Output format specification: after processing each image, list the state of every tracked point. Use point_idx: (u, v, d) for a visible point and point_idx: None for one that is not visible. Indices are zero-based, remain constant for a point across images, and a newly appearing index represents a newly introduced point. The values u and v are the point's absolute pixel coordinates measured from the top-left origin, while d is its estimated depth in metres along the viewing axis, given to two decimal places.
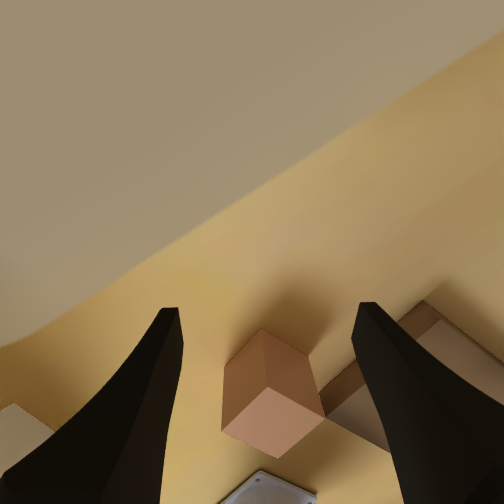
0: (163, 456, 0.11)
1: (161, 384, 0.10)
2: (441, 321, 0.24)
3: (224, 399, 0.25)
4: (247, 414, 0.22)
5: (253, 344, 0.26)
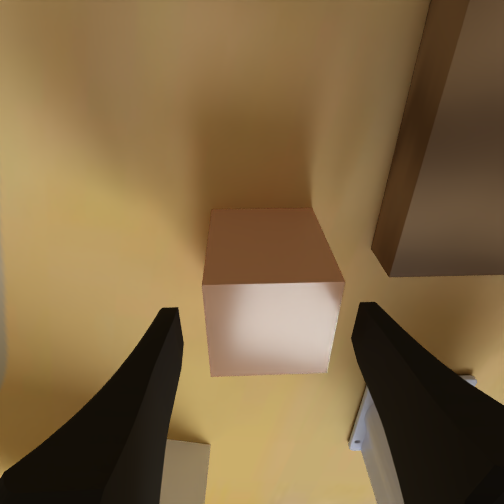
0: (163, 456, 0.11)
1: (161, 384, 0.10)
2: None
3: None
4: (219, 338, 0.13)
5: None
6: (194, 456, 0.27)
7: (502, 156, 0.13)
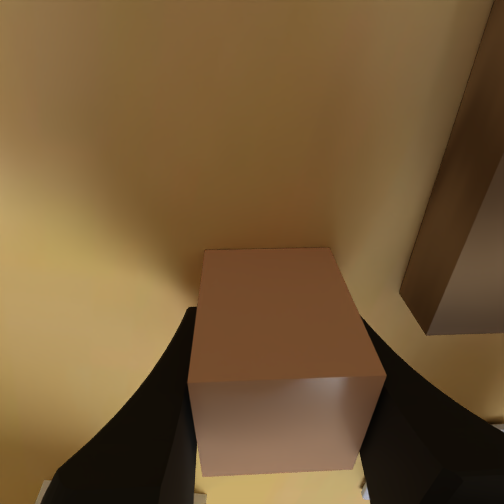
0: (195, 455, 0.11)
1: None
2: None
3: None
4: (212, 438, 0.10)
5: None
6: None
7: None
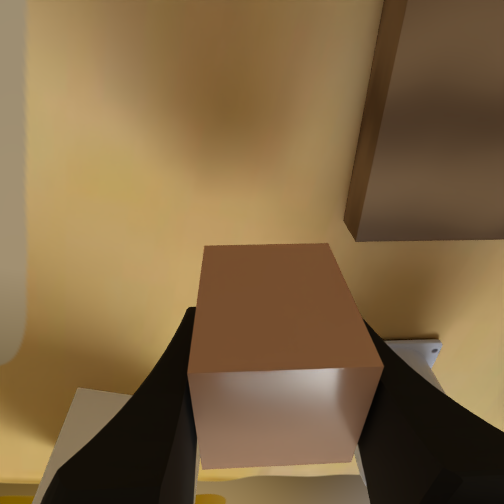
0: (195, 455, 0.11)
1: None
2: None
3: None
4: (212, 430, 0.10)
5: None
6: None
7: (442, 137, 0.16)
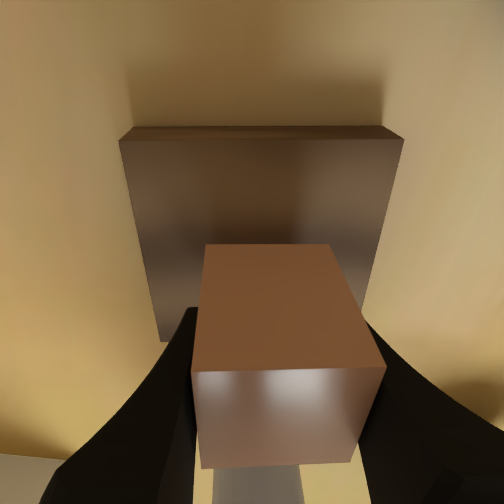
0: (194, 455, 0.11)
1: None
2: (124, 143, 0.14)
3: None
4: (213, 430, 0.10)
5: None
6: None
7: None
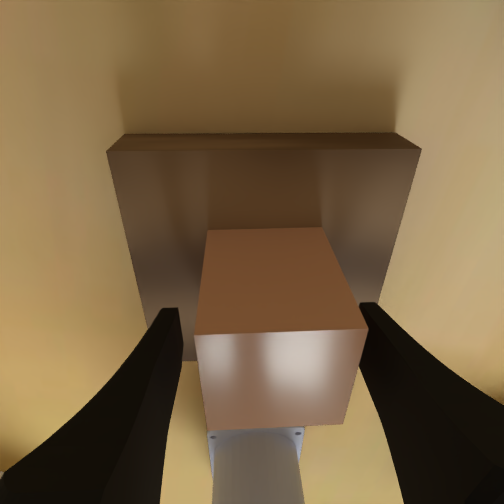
0: (163, 456, 0.11)
1: (161, 384, 0.10)
2: (113, 153, 0.12)
3: None
4: (215, 391, 0.11)
5: None
6: None
7: None
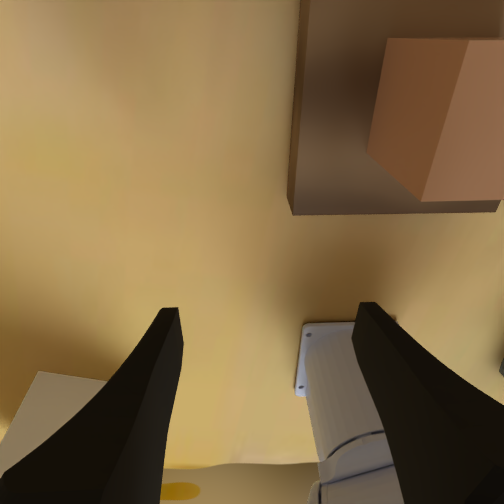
0: (163, 456, 0.11)
1: (161, 384, 0.10)
2: None
3: (395, 171, 0.14)
4: (453, 136, 0.11)
5: (390, 69, 0.14)
6: None
7: (366, 106, 0.16)
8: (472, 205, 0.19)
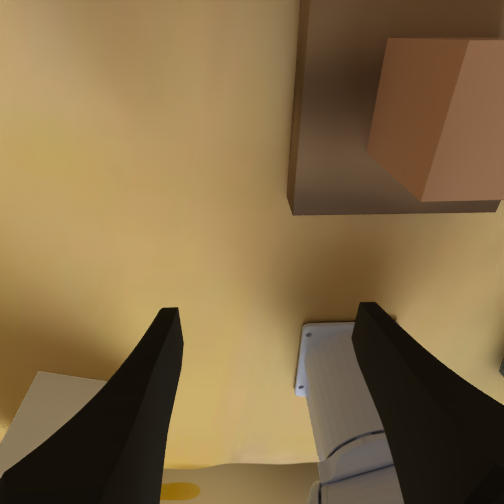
0: (163, 456, 0.11)
1: (161, 384, 0.10)
2: None
3: (395, 171, 0.14)
4: (453, 136, 0.11)
5: (390, 69, 0.14)
6: None
7: (366, 106, 0.16)
8: (472, 205, 0.19)
